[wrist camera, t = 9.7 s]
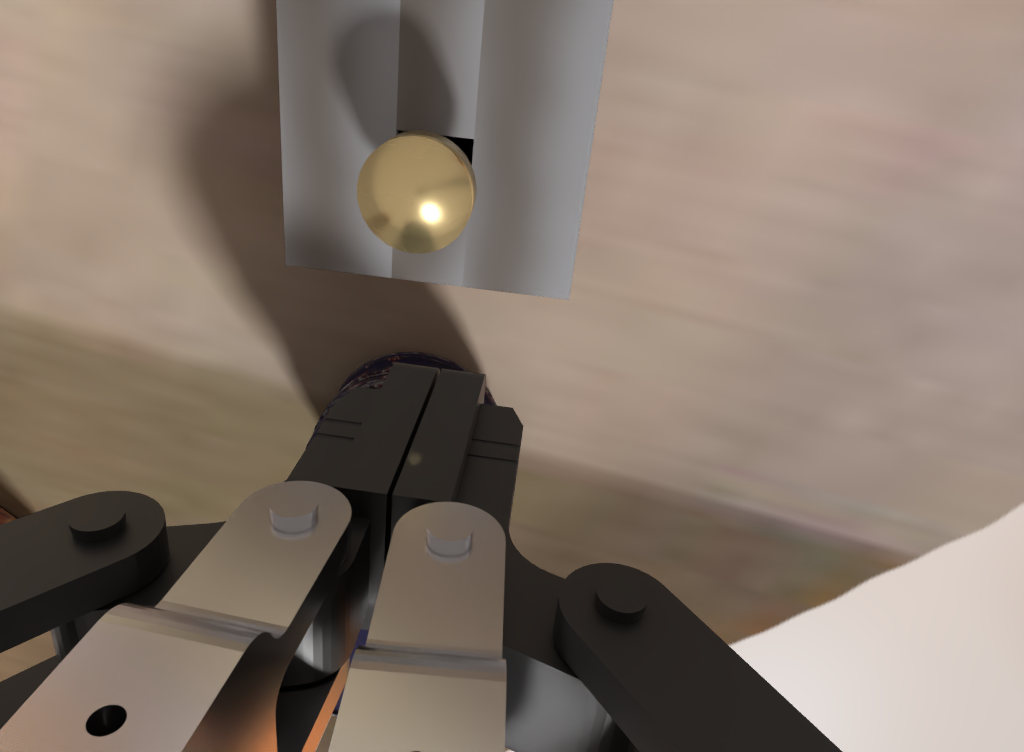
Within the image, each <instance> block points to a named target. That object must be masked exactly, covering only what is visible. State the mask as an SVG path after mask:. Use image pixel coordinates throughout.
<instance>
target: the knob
mask: <svg viewBox="0 0 1024 752" xmlns="http://www.w3.org/2000/svg"><path fill="white" fill-rule="evenodd" d="M473 145H474V139H468V138H460V137H451V136H443V135H440V134H437V133H434V132H429V131H423V130H414V131H407V132H403V133H400V134H398V135H395V136H394V137H392V138H390V139H389V140H387V141H386V142H385V143H383V144H382V145H381V146H379V147H378V148H377V149H376V150H374V151H373V152H372V153H371V154H370V155H369V157H368V158H367V160H366V161H365V162H364V164H363V166H362V168H361V171H360V174H359V177H358V182H357V200H358V205H359V209H360V212H361V214H362V216H363V219H364V221H365V222H366V224H367V225H368V227H369V228H370V229H371V231H372V232H373V233H374V234H375V235H376V236H377V237H378V238H379V239H380V240H382V241H383V242H384V243H386V244H387V245H389V246H391V247H393V248H395V249H397V250H400V251H403V252H408V253H417V254H421V253H429V252H434V251H437V250H440V249H442V248H444V247H446V246H447V245H449V244H450V243H452V242H453V241H454V240H455V239H456V238H457V237H458V236H459V235H460V234H461V232H462V231H463V229H464V228H465V226H466V224H467V222H468V220H469V218H470V215H471V213H472V211H473V209H474V205H475V202H476V195H477V185H476V178H475V174H474V171H473V168H472V157H473Z"/></svg>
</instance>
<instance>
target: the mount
mask: <svg viewBox="0 0 1024 752" xmlns="http://www.w3.org/2000/svg"><path fill="white" fill-rule="evenodd" d="M612 7H613V0H276V12H277V40H278V69H279V97H280V126H281V154H282V182H283V211H284V239H285V265H288V266H296V267H305V268H313V269H321V270H329V271H337V272H345V273H354V274H362V275H370V276H378V277H386V278H395V279H403V280H411V281H419V282H427V283H435V284H444V285H452V286H460V287H468V288H476V289H485V290H493V291H501V292H509V293H517V294H526V295H534V296H542V297H550V298H558V299H566V300H569V296H570V290H571V283H572V276H573V269H574V263H575V256H576V249H577V243H578V236H579V229H580V222H581V216H582V209H583V202H584V195H585V189H586V182H587V175H588V168H589V162H590V155H591V148H592V142H593V135H594V128H595V121H596V115H597V108H598V101H599V94H600V88H601V81H602V74H603V68H604V61H605V54H606V47H607V41H608V34H609V27H610V20H611V14H612ZM414 130H423V131H429V132H434V133H437V134H440V135H443V136H451V137H460V138H468V139H474V145H473V157H472V168H473V171H474V174H475V178H476V185H477V195H476V202H475V205H474V209H473V211H472V213H471V215H470V218H469V220H468V222H467V224H466V226H465V228H464V229H463V231H462V232H461V234H460V235H459V236H458V237H457V238H456V239H455V240H454V241H453V242H452V243H450V244H449V245H447V246H446V247H444V248H442V249H440V250H437V251H434V252H429V253H421V254H417V253H408V252H403V251H400V250H397V249H395V248H393V247H391V246H389V245H387V244H386V243H384V242H383V241H382V240H380V239H379V238H378V237H377V236H376V235H375V234H374V233H373V232H372V231H371V229H370V228H369V227H368V225H367V224H366V222H365V221H364V219H363V216H362V214H361V212H360V209H359V205H358V200H357V182H358V177H359V174H360V171H361V168H362V166H363V164H364V162H365V161H366V160H367V158H368V157H369V155H370V154H371V153H372V152H373V151H374V150H376V149H377V148H378V147H379V146H381V145H382V144H383V143H385V142H386V141H387V140H389V139H390V138H392V137H394V136H395V135H398V134H400V133H403V132H407V131H414Z"/></svg>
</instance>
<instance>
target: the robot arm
mask: <svg viewBox="0 0 1024 752" xmlns="http://www.w3.org/2000/svg"><path fill="white" fill-rule="evenodd" d="M485 385H486V375H485V374H478V373H471V372H463V371H456V370H449V369H442V370H441V372H440V369H439V368H433V367H426V366H419V365H412V364H405V363H397V362H395V363H394V364H393V366H392V368H391V370H390V372H389V374H388V375H387V377H386V379H385V381H384V383H383V385H382V387H381V389H380V390H379V389H371V388H364V387H358V388H356V389H354V390H353V391H351V392H349V393H348V394H346V395H344V396H343V397H341V398H339V399H338V400H336V402H335V404H334V405H333V407H332V408H331V410H330V412H329V413H328V415H327V416H326V418H325V422H323V423H322V424H321V426H320V428H319V429H318V431H317V432H316V437H315V436H314V437H313V439H312V440H311V442H310V444H309V445H308V447H307V448H306V450H305V452H304V453H303V455H302V456H301V458H300V460H299V461H298V463H297V464H296V466H295V468H294V469H293V471H292V472H291V474H290V476H289V477H288V479H287V480H286V482H281V483H277V484H273V485H270V486H267V487H264V488H262V489H260V490H258V491H256V492H254V493H253V494H251V495H250V496H249V497H247V498H246V499H245V500H244V501H243V502H242V503H241V504H240V505H239V507H238V508H237V509H236V510H235V512H234V513H233V514H232V515H231V516H230V518H229V519H228V520H227V521H224V522H218V523H210V524H196V525H183V526H169V527H166V521H165V514H164V511H163V508H162V507H161V506H160V504H159V503H158V502H156V501H155V500H154V499H152V498H150V497H148V496H146V495H143V494H140V493H135V492H129V491H107V492H99V493H94V494H89V495H85V496H82V497H78V498H75V499H72V500H70V501H67V502H64V503H61V504H58V505H55V506H53V507H50V508H47V509H44V510H41V511H38V512H36V513H33V514H30V515H27V516H24V517H21V518H19V519H16V520H13V521H10V522H7V523H4V524H2V525H0V653H1V652H4V651H6V650H8V649H10V648H12V647H15V646H17V645H19V644H21V643H23V642H26V641H28V640H30V639H32V638H34V637H37V636H39V635H41V634H43V633H45V632H48V631H51V635H52V639H53V643H54V647H55V651H56V656H54V657H52V658H49V659H47V660H45V661H43V662H41V663H39V664H37V665H35V666H33V667H31V668H29V669H26V670H24V671H22V672H20V673H18V674H16V675H14V676H12V677H10V678H8V679H6V680H3V681H1V682H0V752H315V751H316V748H317V746H318V744H319V742H320V739H321V737H322V735H323V733H324V730H325V728H326V726H327V724H328V722H329V719H330V717H331V715H332V713H333V710H334V708H335V706H336V704H337V701H338V699H339V697H340V695H341V693H342V690H343V688H344V686H345V689H344V693H343V697H342V700H341V704H340V708H339V712H338V716H337V720H336V724H335V728H334V732H333V735H332V739H331V743H330V747H329V751H328V752H505V747H506V748H508V749H510V750H512V751H514V752H842V751H841V750H840V749H839V748H838V747H837V746H835V744H833V743H832V742H831V741H830V740H829V739H828V738H827V737H826V736H825V735H824V734H823V733H821V731H819V730H818V729H817V728H816V727H815V726H814V725H813V724H812V723H811V722H810V721H809V720H808V719H807V718H806V717H804V716H803V715H802V714H801V713H800V712H799V711H798V710H797V709H796V708H795V707H793V705H792V704H790V703H789V702H788V701H787V700H786V699H785V698H784V697H783V696H782V695H781V694H780V693H779V692H777V690H775V689H774V688H773V687H772V686H771V685H770V684H769V683H768V682H767V681H766V680H765V679H764V678H763V677H761V676H760V675H759V674H758V673H757V672H756V671H755V670H754V669H753V668H752V667H751V666H749V664H748V663H746V662H745V661H744V660H743V659H742V658H741V657H740V656H739V655H738V654H737V653H736V652H735V651H734V650H732V649H731V648H730V647H729V646H728V645H727V644H726V643H725V642H724V641H723V640H722V639H721V638H720V637H719V636H717V635H716V634H715V633H714V632H713V631H712V630H711V629H710V628H709V627H708V626H707V625H706V624H705V623H703V622H702V621H701V620H700V619H699V618H698V617H697V616H696V615H695V614H694V613H693V612H692V611H691V610H690V609H688V608H687V607H686V606H685V605H684V604H683V603H682V602H681V601H680V600H679V599H678V598H677V597H676V596H675V595H673V594H672V593H671V592H670V591H669V590H668V589H667V588H666V587H665V586H664V585H662V584H661V583H660V582H659V581H658V580H656V579H655V578H653V577H652V576H650V575H648V574H646V573H644V572H642V571H640V570H638V569H635V568H632V567H629V566H625V565H620V564H613V563H598V564H591V565H587V566H584V567H581V568H579V569H577V570H575V571H574V572H572V573H571V574H570V575H568V577H567V578H566V579H564V578H561V577H559V576H556V575H554V574H551V573H549V572H547V571H545V570H542V569H540V568H539V567H537V566H535V565H534V564H532V563H531V562H529V561H528V560H527V559H526V558H524V557H523V556H522V555H521V554H520V553H519V551H518V550H517V549H516V547H515V546H514V544H513V542H512V540H511V538H510V534H509V525H510V518H511V511H512V504H513V497H514V490H515V483H516V475H517V468H518V461H519V453H520V446H521V439H522V431H523V425H522V423H521V422H520V420H519V418H518V416H517V415H516V413H515V411H514V409H513V408H509V407H501V406H494V405H487V404H484V395H485ZM360 629H364V630H369V633H368V637H367V641H366V645H365V646H358V647H357V648H356V650H355V653H354V656H353V659H352V662H351V666H350V655H351V653H352V651H353V648H354V646H355V643H356V640H357V637H358V634H359V632H360ZM345 684H346V685H345Z"/></svg>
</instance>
